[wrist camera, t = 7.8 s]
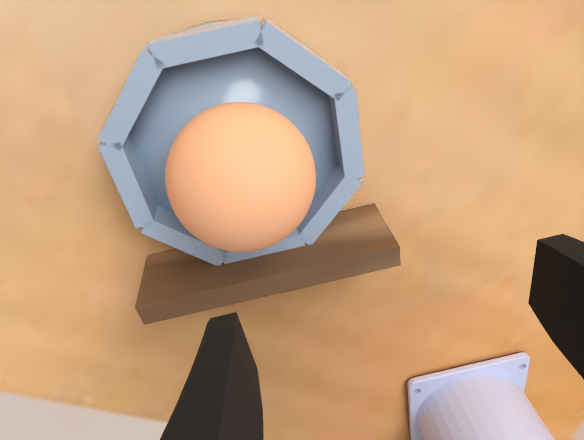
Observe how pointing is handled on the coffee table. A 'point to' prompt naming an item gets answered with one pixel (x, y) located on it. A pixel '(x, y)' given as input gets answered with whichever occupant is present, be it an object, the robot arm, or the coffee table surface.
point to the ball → (240, 177)
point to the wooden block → (266, 268)
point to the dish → (224, 89)
